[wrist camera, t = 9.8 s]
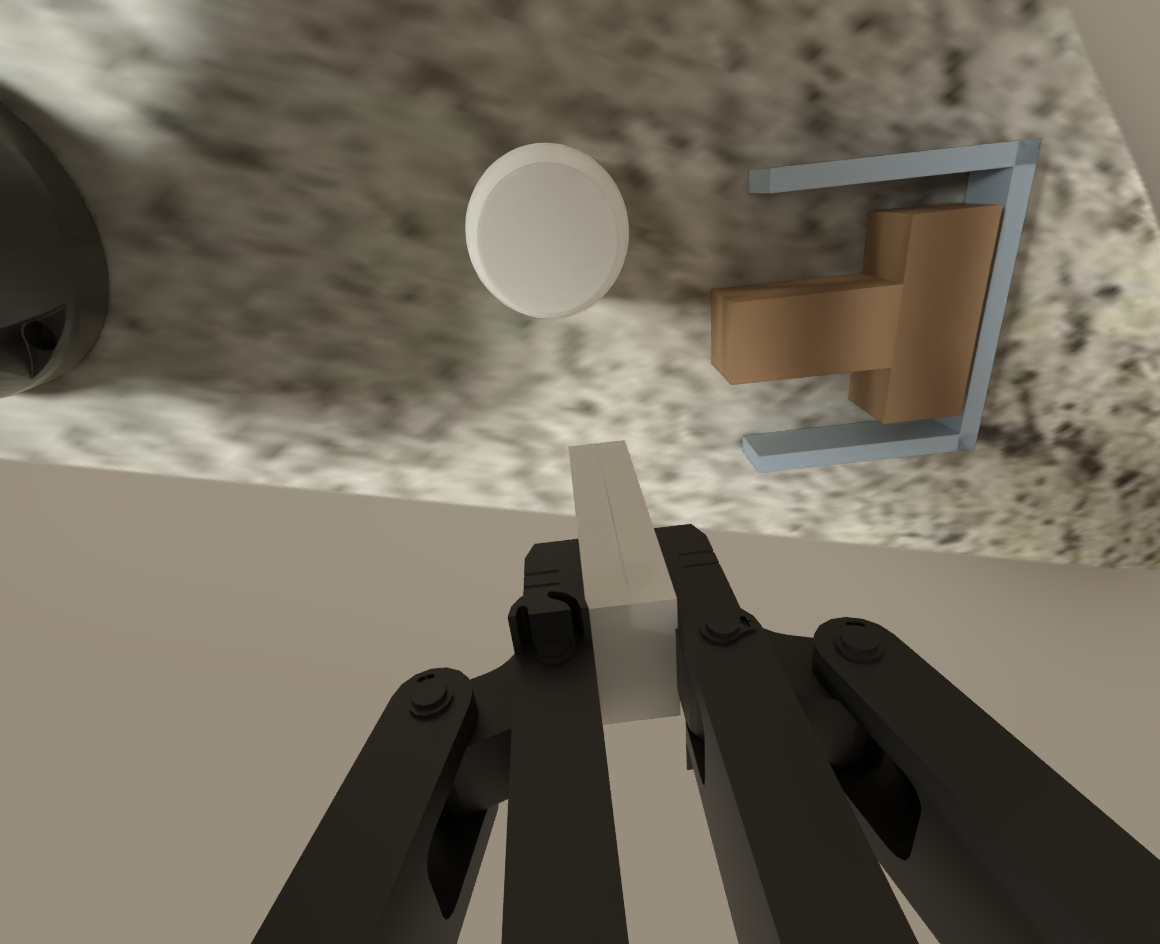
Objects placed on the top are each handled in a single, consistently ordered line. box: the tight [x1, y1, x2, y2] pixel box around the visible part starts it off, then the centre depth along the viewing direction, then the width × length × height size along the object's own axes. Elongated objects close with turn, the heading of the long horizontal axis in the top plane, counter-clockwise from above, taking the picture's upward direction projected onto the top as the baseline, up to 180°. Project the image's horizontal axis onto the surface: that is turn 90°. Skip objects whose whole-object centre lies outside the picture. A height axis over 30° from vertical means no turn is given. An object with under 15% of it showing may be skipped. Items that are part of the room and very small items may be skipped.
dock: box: [742, 138, 1042, 473], centre depth 30 cm, size 12×15×3 cm
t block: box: [711, 203, 1003, 424], centre depth 30 cm, size 12×10×4 cm
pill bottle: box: [465, 143, 629, 319], centre depth 24 cm, size 6×6×11 cm
